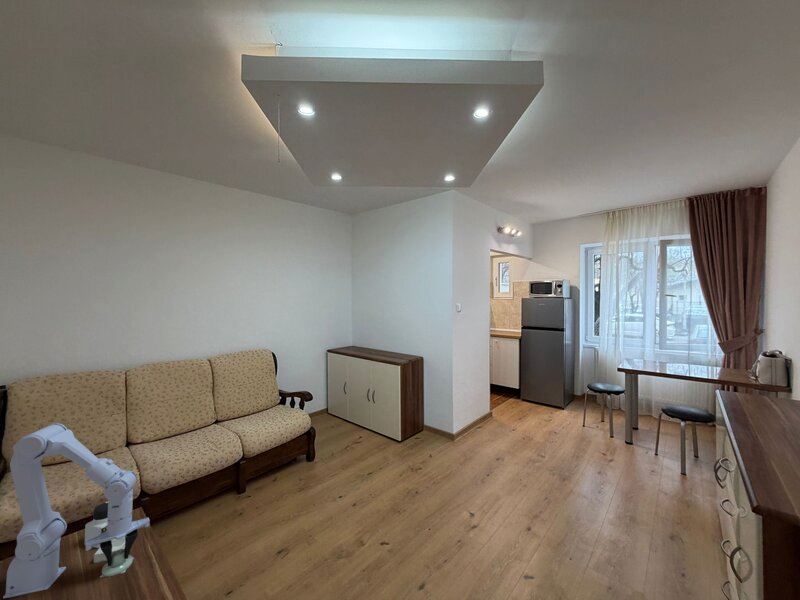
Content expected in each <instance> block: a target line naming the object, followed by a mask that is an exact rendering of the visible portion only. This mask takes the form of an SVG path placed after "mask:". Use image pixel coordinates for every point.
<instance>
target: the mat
mask: <svg viewBox="0 0 800 600" xmlns="http://www.w3.org/2000/svg"><path fill="white" fill-rule="evenodd" d="M132 557H133V560H134V559H135V557H134V556H132ZM126 572H127V569H126V570H125V571H123V572H121V573H119V574H124V573H126ZM119 574H118V575H119ZM103 577H105V578H106V576H103V575H102V574H101V575H100V576H99V578H103Z"/></svg>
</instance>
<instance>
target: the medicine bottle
mask: <svg viewBox="0 0 800 600" xmlns="http://www.w3.org/2000/svg"><path fill="white" fill-rule="evenodd" d="M107 518H108V501H105V502H103V503H101V504H99V505H97V506H96V507H95V508H94V509H93V518H92V519H93V520H91V521H89V522H87V523H86V524H85V525H84V527H85V529H84V546H86V541H87V540H90V539H92V538H94V537H96V536H98V535H100V534H102V533H104V532H106V531H107ZM93 548H95V549H99V548H100V545H97V546H94V547H93Z"/></svg>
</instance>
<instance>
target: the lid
mask: <svg viewBox="0 0 800 600" xmlns="http://www.w3.org/2000/svg"><path fill="white" fill-rule="evenodd" d="M133 557H134V556H133V555H131V554H129V556H128V558H127V559H125V549H119V550H117V551H115V552H113V553H112V555H111V559H112V565H111V566H109V567H108V563H107V562H106V563H105V564H104V565H103V566H102V568H101V575H103V576H105V578H106V577H114V576H117V575H119V573H120V574H122V573H121V572H123V571H125V570H126V571H127V569H129V568H130V567H131V566H132V564H133V560H134V559H133ZM126 571H125V572H126Z"/></svg>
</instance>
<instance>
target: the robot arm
mask: <svg viewBox="0 0 800 600" xmlns="http://www.w3.org/2000/svg"><path fill="white" fill-rule="evenodd" d="M12 449H13V450H12V451H13V454H12V457H11V458H10V459H11V460H10V463H9V467H10V468H9V469H10V472H11V477H12V480H13V484H14V485H13V486H14V489H15V490H14V491H15V493H16V497H17V502H18V505H19V510H20V513H21V518H22V519H21V520H22V523H23V525H22V526H21V529H20V530H19V533H18V534H17V536H16V547H15V550H14V554H15V557H14V558H13V559H12V560H11V562H10V564H9V565H8V569H7V572H6V582H5V583H6V584H5V594H4V595H3V596H2V598H3V599H7V598H8V599H9V598H13V597H19V596H22V595H25V594H31V593H35V592H41V591H45V590H48V589H49V588H50V587H51V586H52V585H53V583H54V582H55V581H56V580H57V579H58V578H59V577H60V576H61V574H62V573H64V571H65V570H66V569H67V566H61V567H60V566H59V565H60V564H59V563H60V546H61V541H62V540H61V538H62V535H64V533H66V531H67V527H68V524H67V522H66V520H65V519H64V518H63V517H62V515H61V512H60V511H55V510H53V509H52V505H51V501H50V496H49V493H48V492H49V491H48V488H47V483H46V480H45V476H44V472H43V467H42V463H41V461H42V459H43V458H44V457H50V456H56V455H57V456H59V455H61V456H63V457H64V458H66V459H68V460H70V461H72V462H74V464H76V465H78V466H80V467H82V468H83V469H85V475H84V476H85V477H86V478H88V479H90V480H91V481H92V482H93V483H95V484H96V485H98V486H99V487H101V488H102V489H103V490H104V491H103V494H104V497H105V498H106V499H107V502H108V518H107V531H106V532H104V533H102V534H100V535H98V536H96V537H94V538H92V539H90V540H87V541H86V545H85V551H86V552H88V551H90V550H91V549H92V548H95V547H94V546H97V545H100V548H101V550H102V552H103V553H104V554H105V556H106V558H107V561H106V563H108V567H109V566H111V565H112V559H111V554H112V541H111V540H113V539H116V540H119V539H121V538H124V537H125V559H127V558H128V556H129V555H130V552H131V549H132V547H133V544H134V543H135V541H136V540H137V538H138V535H139V531H138V530H140V529H142V528H148V527H150V518H149V517H145V518H141V519H138V520H134V521H133V501H134V486H136V484H137V482H138V476H137V474H136V473H135V472H134V471H133V470H124V469H121V468H120V467H119V466H118V465H116V464H114V460H112V459H110V458H109V459H108V458H107V457H104V458H103V457H102V458H98V457H97V456H96V455H95V454H94V453H93V452H91V451H90V450H89V449H88V448H87V447H86V446H85V445H83V444H82V442H81V441H79V440H78V439H77V438H76V437H75V435H74V432H73V431H72V430H71V429H69V428H67V426H65V425H64V424H62V423H58V422H57V423H52V424H48V425H47V426H45V427H43V428H40V429H39V430H37V431H34V432H32V433H30V434H27V435H25V436H23V437H21V439H19V440H18V441H17V442H16V443H15V444H13V446H12Z"/></svg>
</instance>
